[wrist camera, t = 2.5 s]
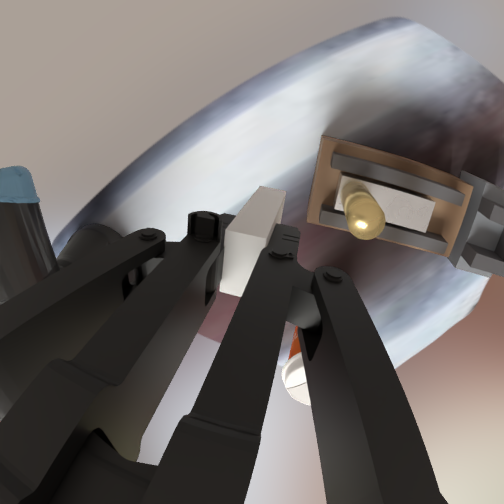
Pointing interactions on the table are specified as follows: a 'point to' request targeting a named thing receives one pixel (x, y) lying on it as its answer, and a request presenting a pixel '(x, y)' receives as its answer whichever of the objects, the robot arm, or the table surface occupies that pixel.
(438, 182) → the door
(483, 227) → the bracket
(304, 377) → the coffee cup
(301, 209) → the table surface
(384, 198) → the white and gold piece
